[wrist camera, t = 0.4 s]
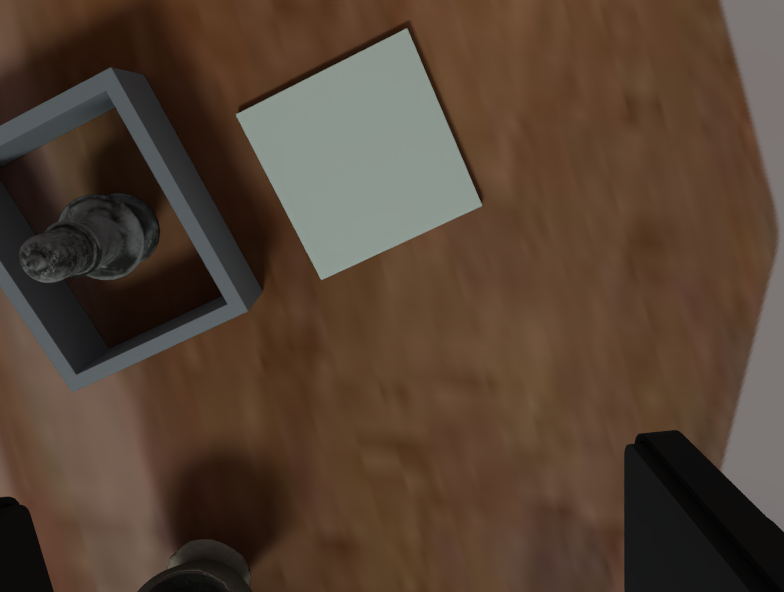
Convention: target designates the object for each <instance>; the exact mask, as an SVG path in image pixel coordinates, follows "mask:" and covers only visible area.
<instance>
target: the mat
mask: <svg viewBox="0 0 784 592" xmlns="http://www.w3.org/2000/svg"><path fill="white" fill-rule="evenodd" d="M236 116H237V118H238V120H239V122H240V124H241V126H242V128H243V130H244V132H245V134H246V136H247V137H248V139H249V141H250V143H251V145H252V147H253V149H254V151H255V153H256V155H257V157H258V159H259V161H260V163H261V165H262V166H263V168H264V170H265V172H266V174H267V176H268V178H269V180H270V182H271V184H272V186H273V188H274V190H275V192H276V194H277V195H278V197H279V199H280V201H281V203H282V205H283V207H284V209H285V211H286V213H287V215H288V217H289V219H290V221H291V223H292V224H293V226H294V228H295V230H296V232H297V234H298V236H299V238H300V240H301V242H302V244H303V246H304V248H305V250H306V252H307V253H308V255H309V257H310V259H311V261H312V263H313V265H314V267H315V269H316V271H317V273H318V275H319V277H320V279H321V280H323V279H325V278H327V277H329V276H331V275H333V274H336V273H338V272H340V271H342V270H344V269H346V268H349V267H351V266H353V265H355V264H357V263H359V262H362V261H364V260H366V259H368V258H370V257H372V256H375V255H377V254H379V253H381V252H383V251H385V250H388V249H390V248H392V247H394V246H396V245H398V244H401V243H403V242H405V241H407V240H409V239H411V238H414V237H416V236H418V235H420V234H422V233H424V232H427V231H429V230H431V229H433V228H435V227H437V226H440V225H442V224H444V223H446V222H448V221H450V220H453V219H455V218H457V217H459V216H461V215H463V214H466V213H468V212H470V211H472V210H474V209H476V208H479V207H481V206H482V204H481V201H480V199H479V197H478V194H477V192H476V190H475V187H474V185H473V183H472V180H471V178H470V175H469V173H468V171H467V168H466V166H465V164H464V161H463V159H462V157H461V154H460V152H459V149H458V147H457V145H456V142H455V140H454V138H453V135H452V133H451V131H450V128H449V126H448V123H447V121H446V119H445V116H444V114H443V112H442V109H441V107H440V105H439V102H438V100H437V97H436V95H435V93H434V90H433V88H432V86H431V83H430V81H429V79H428V76H427V74H426V71H425V69H424V67H423V64H422V62H421V60H420V57H419V55H418V53H417V50H416V48H415V45H414V43H413V41H412V38H411V36H410V34H409V31H408V29H407V28H406V29H404V30H402V31H400V32H398V33H396V34H394V35H393V36H391V37H389V38H387V39H385V40H383V41H381V42H379V43H377V44H375V45H373V46H371V47H369V48H367V49H365V50H363V51H361V52H359V53H357V54H355V55H353V56H351V57H349V58H347V59H345V60H343V61H341V62H339V63H337V64H335V65H333V66H331V67H329V68H327V69H325V70H323V71H321V72H319V73H317V74H315V75H313V76H311V77H309V78H307V79H305V80H303V81H301V82H299V83H297V84H295V85H293V86H291V87H289V88H287V89H285V90H283V91H282V92H280V93H278V94H276V95H274V96H272V97H270V98H268V99H266V100H264V101H262V102H260V103H258V104H256V105H254V106H252V107H250V108H248V109H246V110H244V111H242V112H240V113H238V114H236Z"/></svg>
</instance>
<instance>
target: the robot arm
mask: <svg viewBox="0 0 784 592" xmlns="http://www.w3.org/2000/svg"><path fill="white" fill-rule="evenodd" d="M624 574H625V592H784V532H783V531H782V530H781V529H780V528H779V527H778V526H777V525H776V524H775V523H774V522H773V521H771V520H770V519H769V518H767V517H766V516H765V515H764V514H763V513H762V512H761V511H760V510H759V509H758V508H757V507H756V506H755V505H754V504H753V503H752V502H751V501H750V500H749V499H748V498H747V497H746V496H745V495H744V494H743V493H742V492H741V491H740V490H739V489H738V488H737V487H736V486H735V485H733V483H732V482H731V481H729V479H727V478H726V477H725V476H724V475H723V474H722V473H721V472H720V471H719V470H718V469H717V468H716V467H715V466H714V465H713V464H712V463H711V462H710V461H709V460H708V459H707V458H706V457H705V456H704V455H703V454H702V453H701V452H700V451H699V450H698V449H697V448H696V447H695V446H694V445H693V444H692V443H691V442H690V441H689V440H688V439H687V438H686V437H685V436H684V435H683V434H682V433H680V432H679V431H678V430H672V431H662V432H651V433H641V434H638V435H637V437H636V440H635V444H628V445H627V446H626V448H625V454H624ZM0 592H54V591H53V588H52V585H51V581H50V578H49V575H48V571H47V568H46V565H45V561H44V558H43V555H42V551H41V548H40V545H39V541H38V538H37V535H36V532H35V528H34V525H33V522H32V518H31V515H30V512H29V510H28V509H27V508H26V507H25V506H23V505H20V504H19V502H18V501H17V500H16V499H15V498H12V497H0Z"/></svg>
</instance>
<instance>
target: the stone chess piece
mask: <svg viewBox="0 0 784 592" xmlns="http://www.w3.org/2000/svg"><path fill="white" fill-rule="evenodd" d="M159 234H160V231H159V225H158V221H157V219H156V217H155V215H154V213H153V212H152V210H151V209H150V208H149V206H148V205H146V204H145V203H144V202H143V201H142V200H140V199H138V198H136V197H134V196H132V195H128V194H123V193H115V194H109V195H101V194H91V195H85V196H82V197H79V198H76V199H75V200H73V201H72V202H71V203H69V204H68V205H67V206H66V207H65V209H64V210H63V211H62V213H61V214H60V217H59V220H58V222H56V223H54V224H52V225H51V226H49V227H48V228H47V230H46V231H45V232H44V233H42V234H38V235H35V236H32V237H30V238H29V239H28V240H26V241H25V242H24V243H23V245H22V246H21V248H20V251H19V260H20V264H21V266H22V268H23V270H24V271H25V272H26V273H27V274H28V275H29V276H30V277H32V278H33V279H35V280H37V281H40V282H45V283H51V282H57V281H61V280H63V279H65V278H67V277H83V276H86V275H87V276H89V277H91V278H95V279H100V280H114V279H117V278H120V277H123V276H126V275H127V274H128V273H130V272H131V271H133V270H134V269H135V268H136V266H137V265H138V264H139V263H140V262H142V261H144V260H145V259H147V258H148V257H150V255H151V254H152V253H153V252H154V250H155V249H156V247H157V244H158V242H159Z"/></svg>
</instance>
